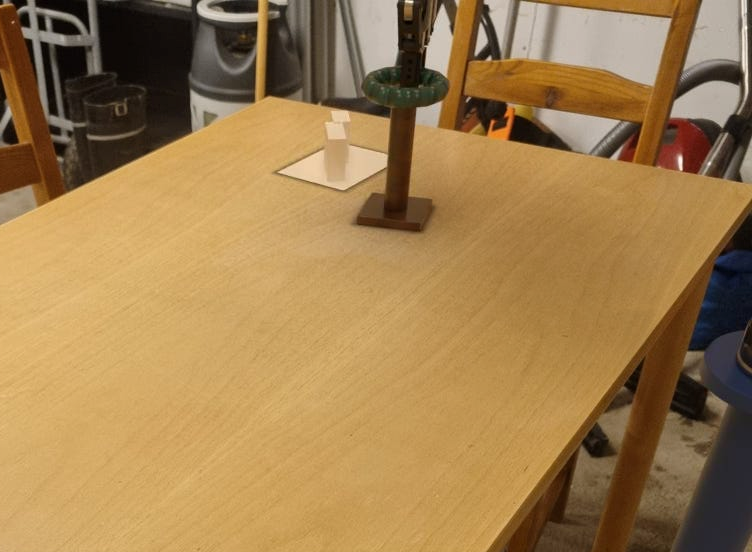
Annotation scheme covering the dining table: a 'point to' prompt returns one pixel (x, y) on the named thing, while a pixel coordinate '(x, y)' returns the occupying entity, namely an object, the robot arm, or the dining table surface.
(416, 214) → the post
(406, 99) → the ring
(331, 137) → the napkin holder
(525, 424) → the dining table surface
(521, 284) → the dining table surface
